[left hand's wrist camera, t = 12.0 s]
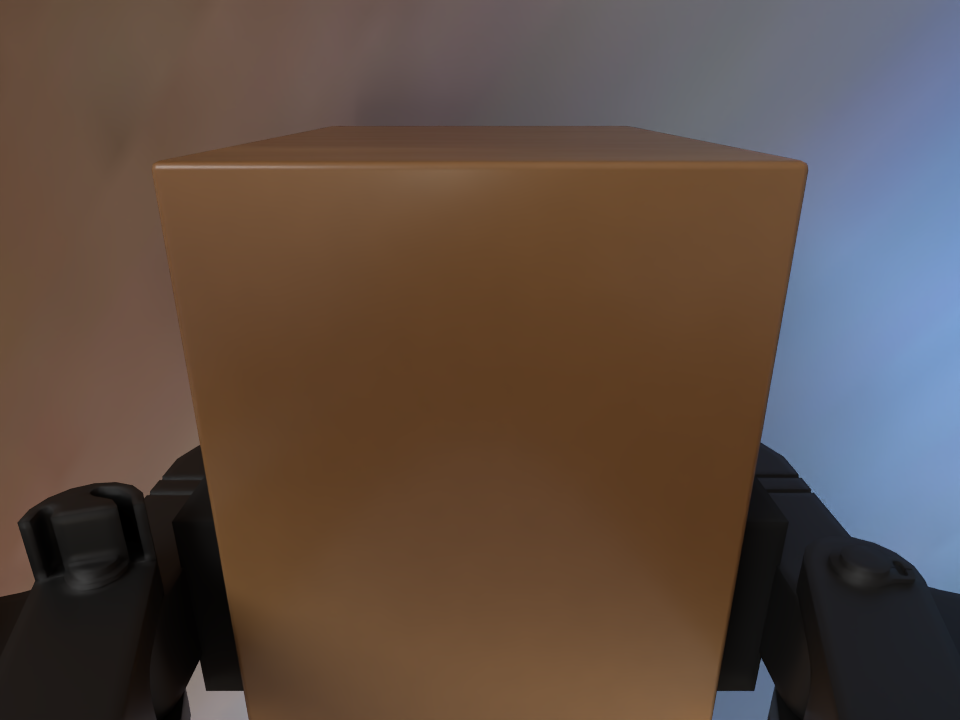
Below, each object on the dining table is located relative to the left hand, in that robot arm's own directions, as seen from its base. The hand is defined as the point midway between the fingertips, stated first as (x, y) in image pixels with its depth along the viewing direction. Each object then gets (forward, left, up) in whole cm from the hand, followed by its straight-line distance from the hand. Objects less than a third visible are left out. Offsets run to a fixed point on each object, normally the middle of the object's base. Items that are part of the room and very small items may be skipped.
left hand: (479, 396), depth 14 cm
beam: (-10, +30, -1) cm, 32 cm away
